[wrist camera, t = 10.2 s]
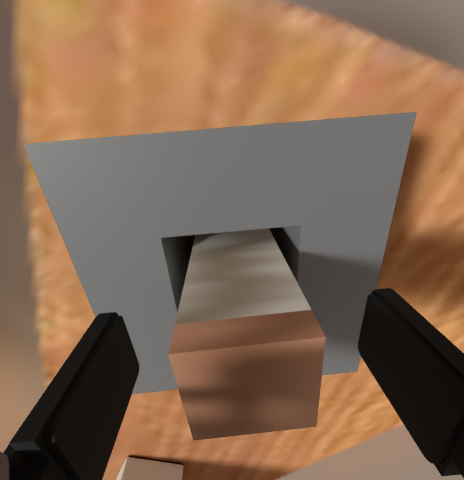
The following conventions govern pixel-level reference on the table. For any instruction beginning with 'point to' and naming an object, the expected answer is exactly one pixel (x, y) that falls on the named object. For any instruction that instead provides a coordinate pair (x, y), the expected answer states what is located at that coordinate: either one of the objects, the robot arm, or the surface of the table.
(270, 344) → the peg
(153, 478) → the milk carton
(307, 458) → the table surface
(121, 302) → the socket block
